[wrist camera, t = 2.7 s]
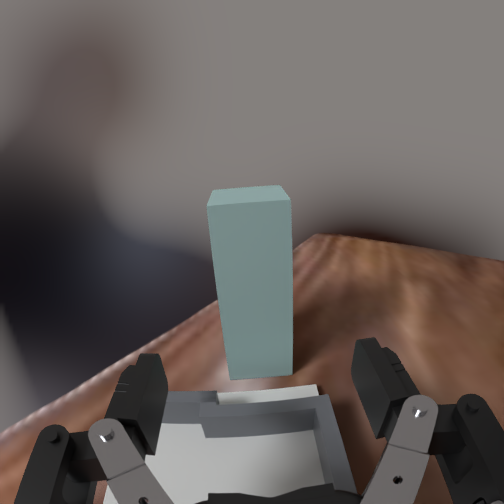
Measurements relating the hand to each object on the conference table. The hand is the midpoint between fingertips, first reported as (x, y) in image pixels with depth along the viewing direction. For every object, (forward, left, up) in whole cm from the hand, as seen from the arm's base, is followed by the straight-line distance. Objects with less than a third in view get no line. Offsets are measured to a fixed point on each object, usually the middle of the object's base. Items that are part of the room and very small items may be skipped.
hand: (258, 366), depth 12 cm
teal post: (0, -11, -9) cm, 15 cm away
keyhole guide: (+3, +1, -9) cm, 10 cm away
